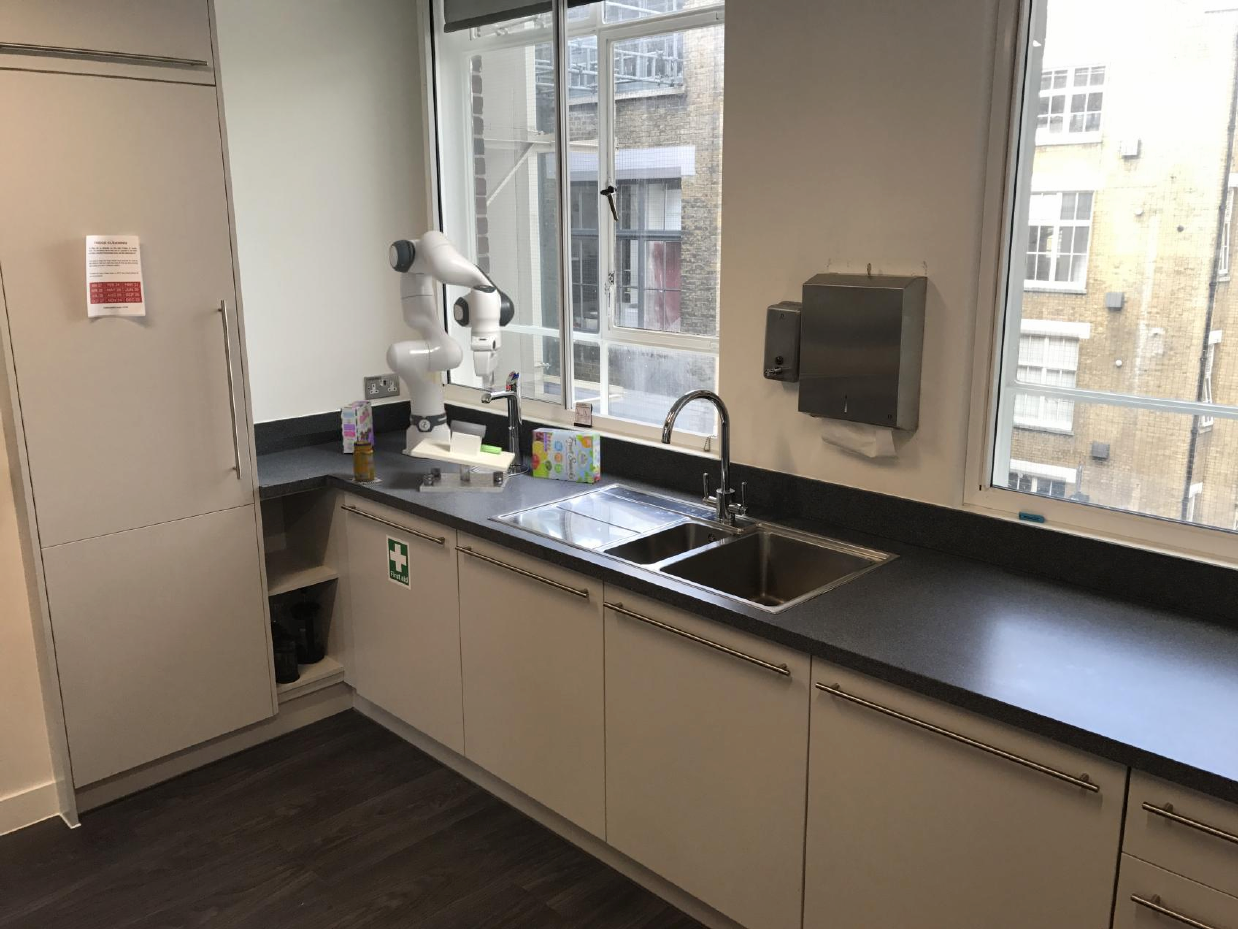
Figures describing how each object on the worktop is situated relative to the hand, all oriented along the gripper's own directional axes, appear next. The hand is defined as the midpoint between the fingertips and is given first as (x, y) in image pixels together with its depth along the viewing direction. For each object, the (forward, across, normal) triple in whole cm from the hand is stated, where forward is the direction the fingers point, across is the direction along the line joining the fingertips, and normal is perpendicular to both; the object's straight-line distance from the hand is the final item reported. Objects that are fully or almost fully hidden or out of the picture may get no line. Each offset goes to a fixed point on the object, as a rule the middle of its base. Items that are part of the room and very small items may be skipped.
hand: (487, 387), depth 302 cm
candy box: (+29, -41, -53) cm, 73 cm away
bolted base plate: (+29, +5, -7) cm, 30 cm away
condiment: (+29, 0, -39) cm, 49 cm away
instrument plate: (+20, +5, -7) cm, 22 cm away
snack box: (+29, -4, +23) cm, 37 cm away
